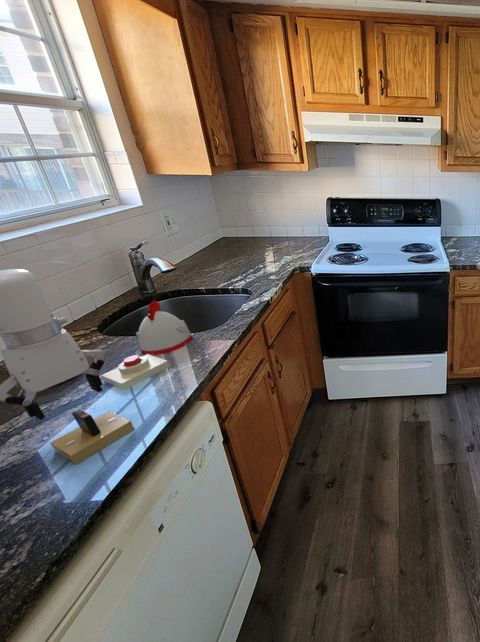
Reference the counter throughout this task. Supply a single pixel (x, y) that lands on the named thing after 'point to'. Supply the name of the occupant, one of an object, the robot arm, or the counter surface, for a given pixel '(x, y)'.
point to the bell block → (135, 372)
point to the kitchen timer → (162, 332)
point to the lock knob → (86, 422)
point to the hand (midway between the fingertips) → (70, 402)
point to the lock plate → (84, 445)
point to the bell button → (132, 360)
